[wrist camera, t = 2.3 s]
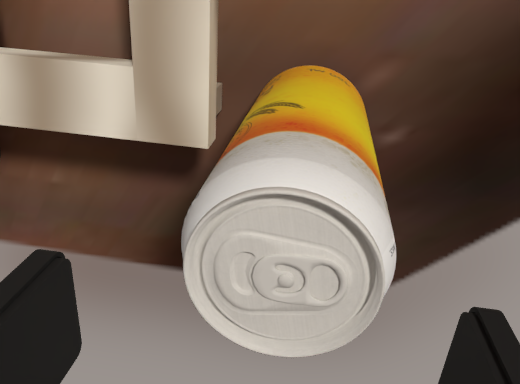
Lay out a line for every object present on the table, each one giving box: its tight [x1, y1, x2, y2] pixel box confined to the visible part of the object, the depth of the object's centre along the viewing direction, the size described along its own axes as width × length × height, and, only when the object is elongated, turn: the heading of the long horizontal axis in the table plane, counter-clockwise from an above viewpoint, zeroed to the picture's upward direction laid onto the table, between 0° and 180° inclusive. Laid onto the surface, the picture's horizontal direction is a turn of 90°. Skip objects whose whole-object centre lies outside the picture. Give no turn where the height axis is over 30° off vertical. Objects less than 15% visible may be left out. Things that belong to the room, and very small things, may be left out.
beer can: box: [181, 65, 396, 358], centre depth 18 cm, size 6×6×15 cm
